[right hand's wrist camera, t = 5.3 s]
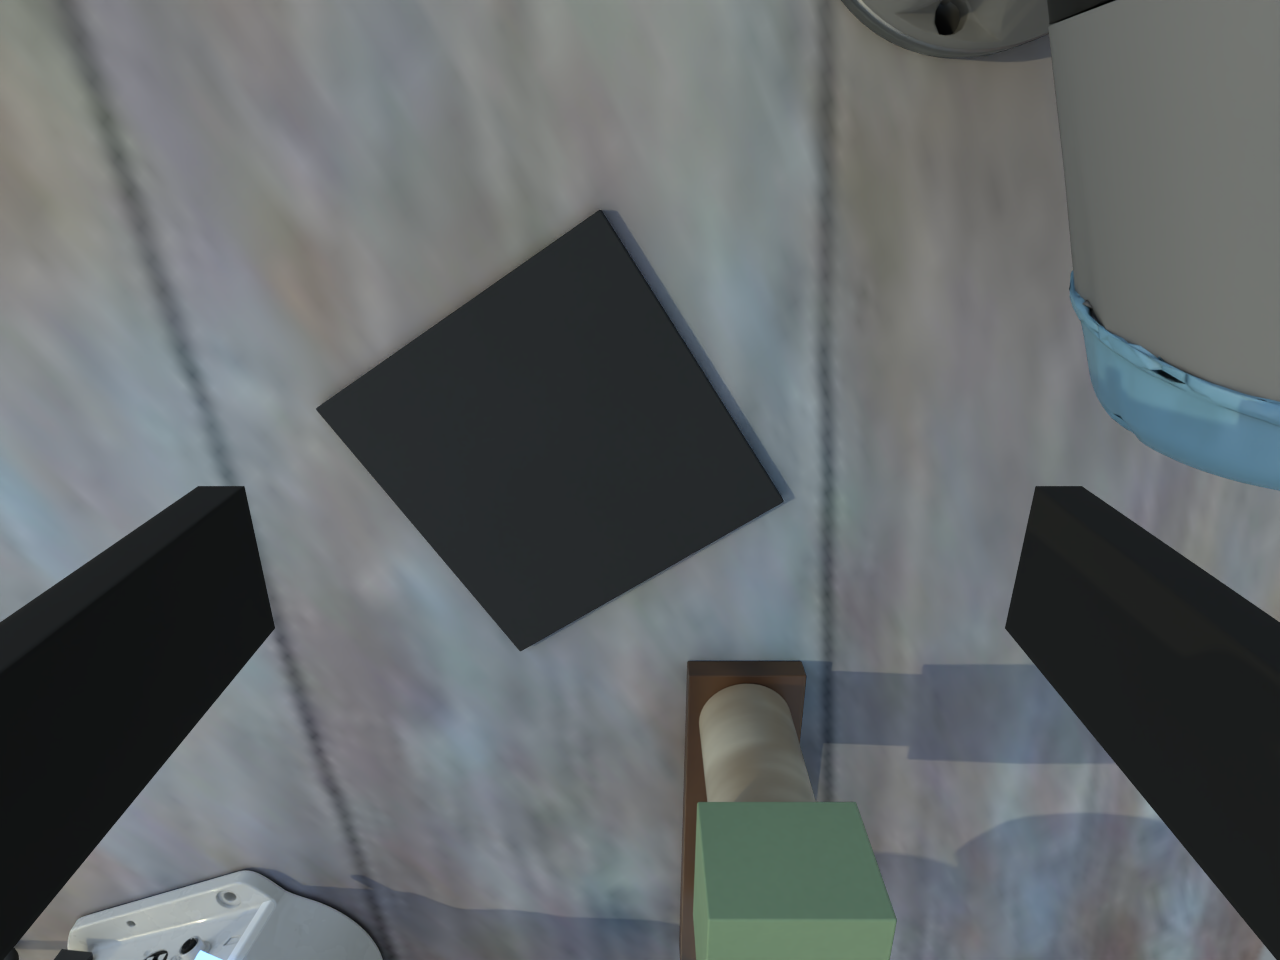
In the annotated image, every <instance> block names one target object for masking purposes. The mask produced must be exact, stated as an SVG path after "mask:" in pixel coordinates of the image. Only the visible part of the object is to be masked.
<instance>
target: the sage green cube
mask: <svg viewBox="0 0 1280 960" xmlns="http://www.w3.org/2000/svg"><path fill="white" fill-rule="evenodd" d="M693 921H694V935H695V949H696V960H890V955H891V949H892V944H893V938H894V933H895V927H896V922H897V919H896V916H895V913H894V911H893V908H892V905H891V902H890V899H889V896H888V893H887V890H886V888H885V885H884V882H883V879H882V876H881V873H880V870H879V867H878V865H877V862H876V859H875V856H874V853H873V850H872V847H871V844H870V842H869V839H868V836H867V833H866V830H865V827H864V824H863V821H862V819H861V816H860V813H859V810H858V807H857V804H856V802H698V803H697V822H696V848H695V875H694V902H693Z"/></svg>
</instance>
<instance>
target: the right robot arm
mask: <svg viewBox="0 0 1280 960" xmlns="http://www.w3.org/2000/svg"><path fill="white" fill-rule="evenodd" d="M841 1H842V2H843V3H844V4H845V5H846V7H847V8H848V9H849V10H850V11H851V12H852V13H853V14H854V15H855V16H856V17H857V18H858V19H859V20H860V21H861V22H862V23H863V24H864V25H866V26H867V27H868V28H870V29H871V30H872V31H873V32H875V33H876V34H878V35H879V36H881V37H883V38H884V39H886V40H888V41H889V42H891V43H894V44H896V45H898V46H900V47H902V48H905V49H907V50H911V51H914V52H917V53H920V54H925V55H930V56H935V57H946V58H968V57H977V56H983V55H989V54H993V53H997V52H1001V51H1005V50H1007V49H1010V48H1013V47H1016V46H1018V45H1021V44H1024V43H1027V42H1029V41H1032V40H1035V39H1037V38H1040V37H1042V36H1045V35H1047V34H1049V39H1050V48H1051V57H1052V66H1053V75H1054V84H1055V93H1056V102H1057V111H1058V120H1059V129H1060V138H1061V147H1062V156H1063V165H1064V174H1065V185H1066V196H1067V207H1068V219H1069V230H1070V241H1071V252H1072V264H1073V271H1072V273H1071V278H1070V288H1069V290H1070V300H1071V303H1072V306H1073V308H1074V310H1075V312H1076V314H1077V316H1078V318H1079V320H1080V321H1081V324H1082V329H1083V334H1084V340H1085V347H1086V353H1087V359H1088V366H1089V372H1090V377H1091V382H1092V385H1093V388H1094V391H1095V393H1096V396H1097V398H1098V399H1099V401H1100V403H1101V405H1102V406H1103V408H1104V409H1105V410H1106V412H1107V413H1108V414H1109V415H1110V417H1111V418H1112V419H1114V420H1115V421H1116V422H1118V423H1119V424H1120V425H1121V426H1123V427H1124V428H1126V429H1127V430H1129V431H1131V432H1133V433H1134V434H1135V435H1136V436H1137V438H1138V439H1139V440H1140V441H1141V442H1142V443H1144V444H1145V445H1147V446H1148V447H1150V448H1152V449H1153V450H1155V451H1157V452H1159V453H1161V454H1163V455H1166V456H1168V457H1170V458H1172V459H1174V460H1176V461H1178V462H1181V463H1183V464H1186V465H1188V466H1191V467H1193V468H1196V469H1199V470H1202V471H1205V472H1208V473H1211V474H1214V475H1217V476H1220V477H1224V478H1227V479H1231V480H1234V481H1238V482H1242V483H1246V484H1251V485H1255V486H1259V487H1264V488H1269V489H1274V490H1279V491H1280V0H841ZM274 629H275V626H274V622H273V617H272V612H271V608H270V603H269V598H268V594H267V589H266V584H265V580H264V575H263V571H262V566H261V561H260V557H259V552H258V547H257V543H256V538H255V533H254V529H253V524H252V519H251V515H250V510H249V506H248V501H247V496H246V492H245V487H244V486H198V487H196V488H195V489H194V490H192V491H191V492H189V493H188V494H186V495H185V496H183V497H182V498H180V499H179V500H178V501H176V502H175V503H173V504H172V505H170V506H169V507H167V508H166V509H164V510H163V511H162V512H160V513H159V514H157V515H156V516H154V517H153V518H151V519H150V520H149V521H147V522H146V523H144V524H143V525H141V526H140V527H138V528H137V529H135V530H134V531H133V532H131V533H130V534H128V535H127V536H125V537H124V538H122V539H121V540H119V541H118V542H117V543H115V544H114V545H112V546H111V547H109V548H108V549H106V550H105V551H103V552H102V553H101V554H99V555H98V556H96V557H95V558H93V559H92V560H90V561H89V562H87V563H86V564H85V565H83V566H82V567H80V568H79V569H77V570H76V571H74V572H73V573H71V574H70V575H69V576H67V577H66V578H64V579H63V580H61V581H60V582H58V583H57V584H55V585H54V586H53V587H51V588H50V589H48V590H47V591H45V592H44V593H42V594H41V595H39V596H38V597H37V598H35V599H34V600H32V601H31V602H29V603H28V604H26V605H25V606H23V607H22V608H21V609H19V610H18V611H16V612H15V613H13V614H12V615H10V616H9V617H7V618H6V619H5V620H3V621H2V622H0V960H4V958H5V957H6V956H7V955H8V953H9V952H10V951H11V950H12V949H13V947H14V946H15V945H16V944H17V942H18V941H19V940H20V939H21V938H22V936H23V935H24V934H25V933H26V931H27V930H28V929H29V928H30V927H31V925H32V924H33V923H34V922H35V920H36V919H37V918H38V917H39V916H40V914H41V913H42V912H43V911H44V909H45V908H46V907H47V906H48V905H49V903H50V902H51V901H52V900H53V898H54V897H55V896H56V895H57V894H58V892H59V891H60V890H61V889H62V888H63V886H64V885H65V884H66V883H67V881H68V880H69V879H70V878H71V877H72V875H73V874H74V873H75V872H76V870H77V869H78V868H79V867H80V866H81V864H82V863H83V862H84V861H85V859H86V858H87V857H88V856H89V855H90V853H91V852H92V851H93V850H94V848H95V847H96V846H97V845H98V844H99V842H100V841H101V840H102V839H103V837H104V836H105V835H106V834H107V833H108V831H109V830H110V829H111V828H112V826H113V825H114V824H115V823H116V822H117V820H118V819H119V818H120V817H121V815H122V814H123V813H124V812H125V811H126V809H127V808H128V807H129V806H130V804H131V803H132V802H133V801H134V800H135V798H136V797H137V796H138V795H139V793H140V792H141V791H142V790H143V789H144V787H145V786H146V785H147V784H148V783H149V781H150V780H151V779H152V778H153V776H154V775H155V774H156V773H157V772H158V770H159V769H160V768H161V767H162V765H163V764H164V763H165V762H166V761H167V759H168V758H169V757H170V756H171V754H172V753H173V752H174V751H175V750H176V748H177V747H178V746H179V745H180V743H181V742H182V741H183V740H184V739H185V737H186V736H187V735H188V734H189V732H190V731H191V730H192V729H193V728H194V726H195V725H196V724H197V723H198V721H199V720H200V719H201V718H202V717H203V715H204V714H205V713H206V712H207V710H208V709H209V708H210V707H211V706H212V704H213V703H214V702H215V701H216V699H217V698H218V697H219V696H220V695H221V693H222V692H223V691H224V690H225V688H226V687H227V686H228V685H229V684H230V682H231V681H232V680H233V679H234V678H235V676H236V675H237V674H238V673H239V671H240V670H241V669H242V668H243V667H244V665H245V664H246V663H247V662H248V660H249V659H250V658H251V657H252V656H253V654H254V653H255V652H256V651H257V649H258V648H259V647H260V646H261V645H262V643H263V642H264V641H265V640H266V638H267V637H268V636H269V635H270V634H271V632H272V631H273V630H274ZM1005 629H1006V630H1007V631H1008V632H1009V634H1010V635H1011V636H1012V637H1013V638H1014V640H1015V641H1016V642H1017V643H1018V645H1019V646H1020V647H1021V648H1022V649H1023V651H1024V652H1025V653H1026V654H1027V656H1028V657H1029V658H1030V659H1031V660H1032V662H1033V663H1034V664H1035V665H1036V667H1037V668H1038V669H1039V670H1040V671H1041V673H1042V674H1043V675H1044V676H1045V678H1046V679H1047V680H1048V681H1049V682H1050V684H1051V685H1052V686H1053V687H1054V688H1055V690H1056V691H1057V692H1058V693H1059V695H1060V696H1061V697H1062V698H1063V699H1064V701H1065V702H1066V703H1067V704H1068V706H1069V707H1070V708H1071V709H1072V710H1073V712H1074V713H1075V714H1076V715H1077V717H1078V718H1079V719H1080V720H1081V721H1082V723H1083V724H1084V725H1085V726H1086V728H1087V729H1088V730H1089V731H1090V732H1091V734H1092V735H1093V736H1094V737H1095V739H1096V740H1097V741H1098V742H1099V743H1100V745H1101V746H1102V747H1103V748H1104V750H1105V751H1106V752H1107V753H1108V754H1109V756H1110V757H1111V758H1112V759H1113V761H1114V762H1115V763H1116V764H1117V765H1118V767H1119V768H1120V769H1121V770H1122V772H1123V773H1124V774H1125V775H1126V776H1127V778H1128V779H1129V780H1130V781H1131V783H1132V784H1133V785H1134V786H1135V787H1136V789H1137V790H1138V791H1139V792H1140V793H1141V795H1142V796H1143V797H1144V798H1145V800H1146V801H1147V802H1148V803H1149V804H1150V806H1151V807H1152V808H1153V809H1154V811H1155V812H1156V813H1157V814H1158V815H1159V817H1160V818H1161V819H1162V820H1163V822H1164V823H1165V824H1166V825H1167V826H1168V828H1169V829H1170V830H1171V831H1172V833H1173V834H1174V835H1175V836H1176V837H1177V839H1178V840H1179V841H1180V842H1181V844H1182V845H1183V846H1184V847H1185V848H1186V850H1187V851H1188V852H1189V853H1190V855H1191V856H1192V857H1193V858H1194V859H1195V861H1196V862H1197V863H1198V864H1199V866H1200V867H1201V868H1202V869H1203V870H1204V872H1205V873H1206V874H1207V875H1208V877H1209V878H1210V879H1211V880H1212V881H1213V883H1214V884H1215V885H1216V886H1217V888H1218V889H1219V890H1220V891H1221V892H1222V894H1223V895H1224V896H1225V897H1226V898H1227V900H1228V901H1229V902H1230V903H1231V905H1232V906H1233V907H1234V908H1235V909H1236V911H1237V912H1238V913H1239V914H1240V916H1241V917H1242V918H1243V919H1244V920H1245V922H1246V923H1247V924H1248V925H1249V927H1250V928H1251V929H1252V930H1253V931H1254V933H1255V934H1256V935H1257V936H1258V938H1259V939H1260V940H1261V941H1262V942H1263V944H1264V945H1265V946H1266V947H1267V949H1268V950H1269V951H1270V952H1271V953H1272V955H1273V956H1274V957H1275V958H1276V959H1277V960H1280V622H1278V621H1277V620H1275V619H1274V618H1273V617H1271V616H1270V615H1268V614H1267V613H1265V612H1264V611H1262V610H1261V609H1259V608H1258V607H1257V606H1255V605H1254V604H1252V603H1251V602H1249V601H1248V600H1246V599H1245V598H1243V597H1242V596H1241V595H1239V594H1238V593H1236V592H1235V591H1233V590H1232V589H1230V588H1229V587H1227V586H1226V585H1225V584H1223V583H1222V582H1220V581H1219V580H1217V579H1216V578H1214V577H1213V576H1211V575H1210V574H1209V573H1207V572H1206V571H1204V570H1203V569H1201V568H1200V567H1198V566H1197V565H1195V564H1194V563H1193V562H1191V561H1190V560H1188V559H1187V558H1185V557H1184V556H1182V555H1181V554H1179V553H1178V552H1177V551H1175V550H1174V549H1172V548H1171V547H1169V546H1168V545H1166V544H1165V543H1163V542H1162V541H1161V540H1159V539H1158V538H1156V537H1155V536H1153V535H1152V534H1150V533H1149V532H1147V531H1146V530H1145V529H1143V528H1142V527H1140V526H1139V525H1137V524H1136V523H1134V522H1133V521H1131V520H1130V519H1129V518H1127V517H1126V516H1124V515H1123V514H1121V513H1120V512H1118V511H1117V510H1116V509H1114V508H1113V507H1111V506H1110V505H1108V504H1107V503H1105V502H1104V501H1102V500H1101V499H1100V498H1098V497H1097V496H1095V495H1094V494H1092V493H1091V492H1089V491H1088V490H1086V489H1085V488H1084V487H1082V486H1036V487H1035V492H1034V496H1033V501H1032V506H1031V510H1030V515H1029V519H1028V524H1027V529H1026V533H1025V538H1024V543H1023V547H1022V552H1021V557H1020V561H1019V566H1018V571H1017V575H1016V580H1015V584H1014V589H1013V594H1012V598H1011V603H1010V608H1009V612H1008V617H1007V622H1006V626H1005Z"/></svg>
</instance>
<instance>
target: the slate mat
mask: <svg viewBox="0 0 1280 960" xmlns="http://www.w3.org/2000/svg"><path fill="white" fill-rule="evenodd" d="M316 410H317V411H318V412H319V413H320V415H321V416H322V417H323V418H324V419H325V421H326V422H327V423H328V424H329V425H330V427H331V428H332V429H333V430H334V431H335V432H336V434H337V435H338V436H339V437H340V438H341V440H342V441H343V442H344V443H345V444H346V445H347V447H348V448H349V449H350V450H351V451H352V453H353V454H354V455H355V456H356V457H357V459H358V460H359V461H360V462H361V463H362V464H363V466H364V467H365V468H366V469H367V470H368V472H369V473H370V474H371V475H372V476H373V477H374V479H375V480H376V481H377V482H378V483H379V485H380V486H381V487H382V488H383V489H384V491H385V492H386V493H387V494H388V495H389V496H390V498H391V499H392V500H393V501H394V502H395V504H396V505H397V506H398V507H399V508H400V510H401V511H402V512H403V513H404V514H405V515H406V517H407V518H408V519H409V520H410V521H411V523H412V524H413V525H414V526H415V527H416V528H417V530H418V531H419V532H420V533H421V534H422V536H423V537H424V538H425V539H426V540H427V542H428V543H429V544H430V545H431V546H432V547H433V549H434V550H435V551H436V552H437V553H438V555H439V556H440V557H441V558H442V559H443V560H444V562H445V563H446V564H447V565H448V566H449V568H450V569H451V570H452V571H453V572H454V574H455V575H456V576H457V577H458V578H459V579H460V581H461V582H462V583H463V584H464V585H465V587H466V588H467V589H468V590H469V591H470V592H471V594H472V595H473V596H474V597H475V598H476V600H477V601H478V602H479V603H480V604H481V606H482V607H483V608H484V609H485V610H486V611H487V613H488V614H489V615H490V616H491V617H492V619H493V620H494V621H495V622H496V623H497V624H498V626H499V627H500V628H501V629H502V630H503V632H504V633H505V634H506V635H507V636H508V638H509V639H510V640H511V641H512V642H513V643H514V645H515V646H516V647H517V648H518V649H519V651H522V650H524V649H525V648H527V647H529V646H531V645H533V644H534V643H536V642H538V641H540V640H541V639H543V638H545V637H547V636H548V635H550V634H552V633H554V632H555V631H557V630H559V629H561V628H562V627H564V626H566V625H568V624H569V623H571V622H573V621H575V620H576V619H578V618H580V617H582V616H584V615H585V614H587V613H589V612H591V611H592V610H594V609H596V608H598V607H599V606H601V605H603V604H605V603H606V602H608V601H610V600H612V599H613V598H615V597H617V596H619V595H620V594H622V593H624V592H626V591H627V590H629V589H631V588H633V587H634V586H636V585H638V584H640V583H642V582H643V581H645V580H647V579H649V578H650V577H652V576H654V575H656V574H657V573H659V572H661V571H663V570H664V569H666V568H668V567H670V566H671V565H673V564H675V563H677V562H678V561H680V560H682V559H684V558H685V557H687V556H689V555H691V554H693V553H694V552H696V551H698V550H700V549H701V548H703V547H705V546H707V545H708V544H710V543H712V542H714V541H715V540H717V539H719V538H721V537H722V536H724V535H726V534H728V533H729V532H731V531H733V530H735V529H736V528H738V527H740V526H742V525H744V524H745V523H747V522H749V521H751V520H752V519H754V518H756V517H758V516H759V515H761V514H763V513H765V512H766V511H768V510H770V509H772V508H773V507H775V506H777V505H779V504H780V503H782V502H783V499H782V497H781V495H780V494H779V492H778V490H777V489H776V487H775V486H774V484H773V482H772V481H771V479H770V478H769V476H768V474H767V473H766V471H765V470H764V468H763V466H762V465H761V463H760V462H759V460H758V459H757V457H756V455H755V454H754V452H753V451H752V449H751V447H750V446H749V444H748V443H747V441H746V439H745V438H744V436H743V435H742V433H741V431H740V430H739V428H738V427H737V425H736V424H735V422H734V420H733V419H732V417H731V416H730V414H729V412H728V411H727V409H726V408H725V406H724V404H723V403H722V401H721V400H720V398H719V396H718V395H717V393H716V392H715V390H714V389H713V387H712V385H711V384H710V382H709V381H708V379H707V377H706V376H705V374H704V373H703V371H702V369H701V368H700V366H699V365H698V363H697V362H696V360H695V358H694V357H693V355H692V354H691V352H690V350H689V349H688V347H687V346H686V344H685V342H684V341H683V339H682V338H681V336H680V334H679V333H678V331H677V330H676V328H675V327H674V325H673V323H672V322H671V320H670V319H669V317H668V315H667V314H666V312H665V311H664V309H663V307H662V306H661V304H660V303H659V301H658V299H657V298H656V296H655V295H654V293H653V292H652V290H651V288H650V287H649V285H648V284H647V282H646V280H645V279H644V277H643V276H642V274H641V272H640V271H639V269H638V268H637V266H636V264H635V263H634V261H633V260H632V258H631V257H630V255H629V253H628V252H627V250H626V249H625V247H624V245H623V244H622V242H621V241H620V239H619V237H618V236H617V234H616V233H615V231H614V229H613V228H612V226H611V225H610V223H609V222H608V220H607V218H606V217H605V215H604V214H603V212H602V210H599V211H597V212H596V213H595V214H593V215H592V216H590V217H589V218H587V219H586V220H585V221H583V222H582V223H580V224H579V225H577V226H576V227H575V228H573V229H572V230H570V231H569V232H567V233H566V234H565V235H563V236H562V237H560V238H559V239H557V240H556V241H555V242H553V243H552V244H550V245H549V246H547V247H546V248H545V249H543V250H542V251H540V252H539V253H537V254H536V255H535V256H533V257H532V258H530V259H529V260H527V261H526V262H525V263H523V264H522V265H520V266H519V267H517V268H516V269H515V270H513V271H512V272H510V273H509V274H507V275H506V276H505V277H503V278H502V279H500V280H499V281H497V282H496V283H495V284H493V285H492V286H490V287H489V288H487V289H486V290H485V291H483V292H482V293H480V294H479V295H477V296H476V297H475V298H473V299H472V300H470V301H469V302H467V303H466V304H465V305H463V306H462V307H460V308H459V309H457V310H456V311H455V312H453V313H452V314H450V315H449V316H447V317H446V318H445V319H443V320H442V321H440V322H439V323H437V324H436V325H435V326H433V327H432V328H430V329H429V330H427V331H426V332H425V333H423V334H422V335H420V336H419V337H417V338H416V339H415V340H413V341H412V342H410V343H409V344H407V345H406V346H405V347H403V348H402V349H400V350H399V351H397V352H396V353H395V354H393V355H392V356H390V357H389V358H387V359H386V360H385V361H383V362H382V363H380V364H379V365H377V366H376V367H375V368H373V369H372V370H370V371H369V372H367V373H366V374H365V375H363V376H362V377H360V378H359V379H357V380H356V381H355V382H353V383H352V384H350V385H349V386H347V387H346V388H345V389H343V390H342V391H340V392H339V393H337V394H336V395H335V396H333V397H332V398H330V399H329V400H327V401H326V402H325V403H323V404H322V405H320V406H319V407H317V408H316Z"/></svg>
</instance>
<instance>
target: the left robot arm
mask: <svg viewBox="0 0 1280 960" xmlns="http://www.w3.org/2000/svg"><path fill="white" fill-rule="evenodd" d="M67 947H68V950H65V949H62V950H61V951H60V952H59V954H58V955H57V956H56V958H55V959H54V960H383V958H382V956H381V953H380V951H379V949H378V947H377V945H376V944H375V942H374V941H373V939H372V938H371V937H370V936H369V935H368V933H367V932H366V931H365V930H364V929H363V928H362V927H360V926H359V925H358V924H357V923H356V922H354V921H353V920H352V919H350V918H349V917H347V916H346V915H344V914H343V913H341V912H339V911H337V910H335V909H333V908H331V907H329V906H327V905H325V904H322V903H320V902H317V901H314V900H311V899H308V898H305V897H301V896H298V895H295V894H293V893H290V892H288V891H286V890H284V889H283V888H281V887H280V886H279V885H277V884H276V883H274V882H273V881H271V880H269V879H268V878H266V877H265V876H263V875H261V874H259V873H256V872H253V871H248V870H244V871H238V872H235V873H231V874H228V875H224V876H221V877H218V878H214V879H211V880H207V881H204V882H200V883H197V884H193V885H190V886H186V887H183V888H179V889H176V890H173V891H169V892H166V893H162V894H159V895H155V896H152V897H148V898H145V899H141V900H138V901H134V902H131V903H127V904H124V905H121V906H117V907H114V908H110V909H107V910H103V911H100V912H96V913H93V914H90V915H86V916H84V917H81V918H79V919H78V920H77V921H76V923H75V924H74V926H73V928H72V929H71V931H70V933H69V937H68V945H67ZM4 960H19V955H18V952H17V951H16V950H15V948H13V949H12V950H11V951H10V952H9V953H8V955H7V956H6V957H5V958H4Z"/></svg>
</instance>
